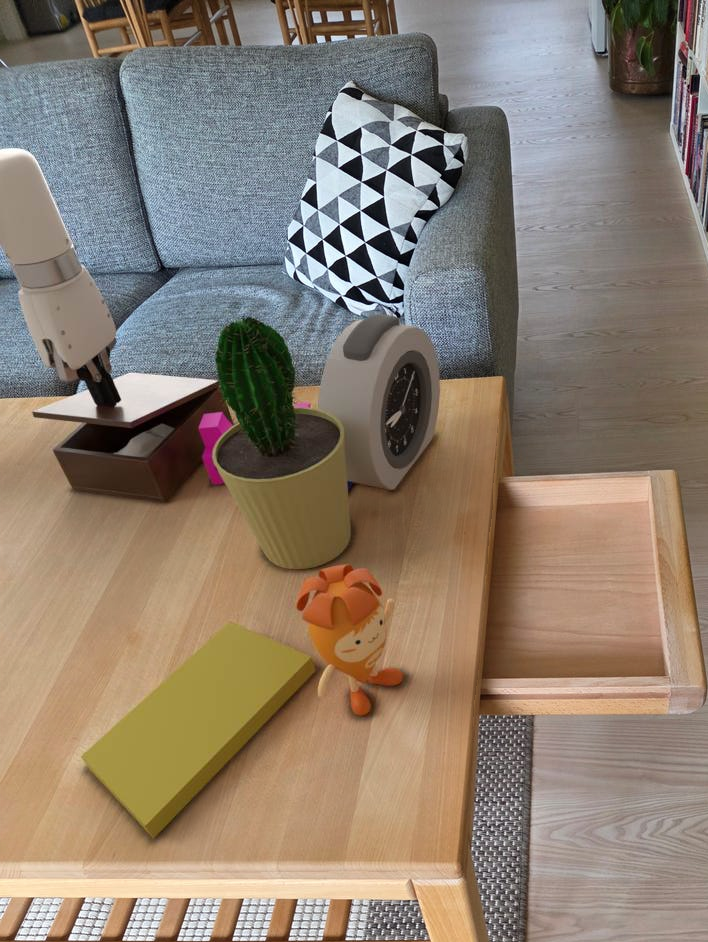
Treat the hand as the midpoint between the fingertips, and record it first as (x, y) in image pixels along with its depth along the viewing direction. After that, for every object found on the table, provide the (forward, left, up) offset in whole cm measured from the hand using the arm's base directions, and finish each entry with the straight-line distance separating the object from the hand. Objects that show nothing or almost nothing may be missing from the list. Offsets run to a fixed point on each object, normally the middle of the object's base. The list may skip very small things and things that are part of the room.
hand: (108, 403), depth 117 cm
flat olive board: (+22, -47, -12) cm, 53 cm away
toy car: (0, +3, -11) cm, 11 cm away
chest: (+1, +4, -12) cm, 13 cm away
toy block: (+19, 0, -12) cm, 22 cm away
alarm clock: (+37, +1, -12) cm, 38 cm away
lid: (+1, +4, -2) cm, 5 cm away
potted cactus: (+28, -17, -12) cm, 35 cm away
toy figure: (+39, -42, -12) cm, 58 cm away
